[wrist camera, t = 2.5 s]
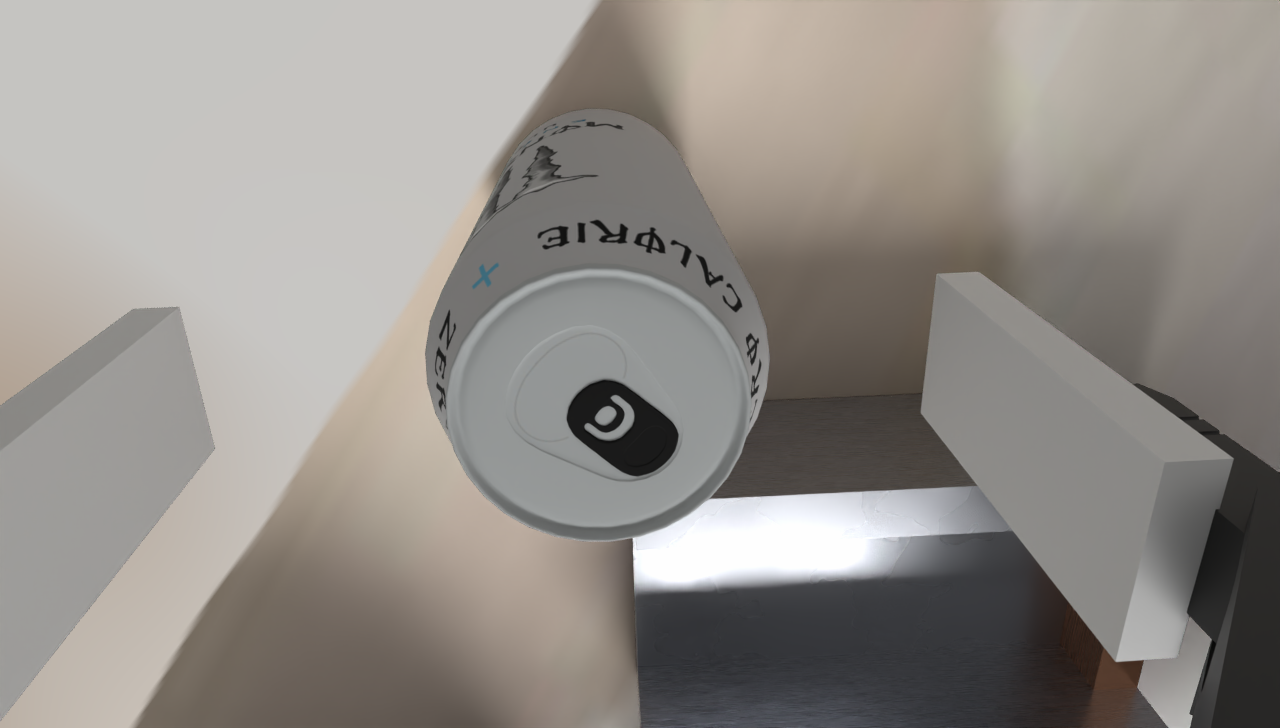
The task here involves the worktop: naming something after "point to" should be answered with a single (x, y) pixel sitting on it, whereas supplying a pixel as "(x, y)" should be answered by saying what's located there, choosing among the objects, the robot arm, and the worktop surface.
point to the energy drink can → (597, 336)
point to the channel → (861, 593)
